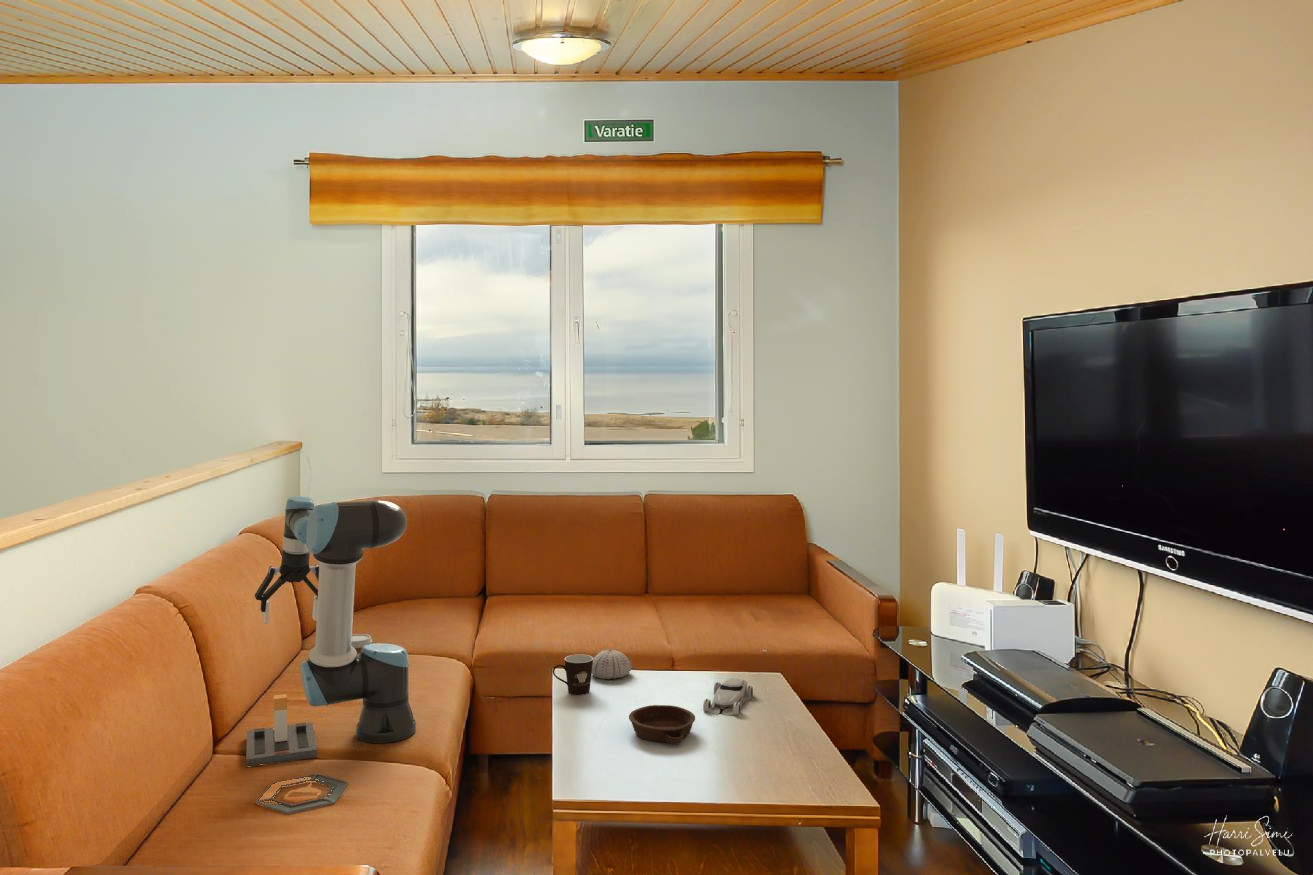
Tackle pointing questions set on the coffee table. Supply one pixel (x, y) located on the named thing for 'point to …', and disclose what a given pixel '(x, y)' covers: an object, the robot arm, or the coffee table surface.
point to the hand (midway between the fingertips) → (290, 620)
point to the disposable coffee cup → (360, 641)
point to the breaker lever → (280, 718)
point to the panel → (280, 745)
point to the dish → (662, 723)
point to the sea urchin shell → (610, 665)
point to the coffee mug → (577, 673)
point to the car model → (728, 697)
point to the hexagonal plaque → (287, 808)
